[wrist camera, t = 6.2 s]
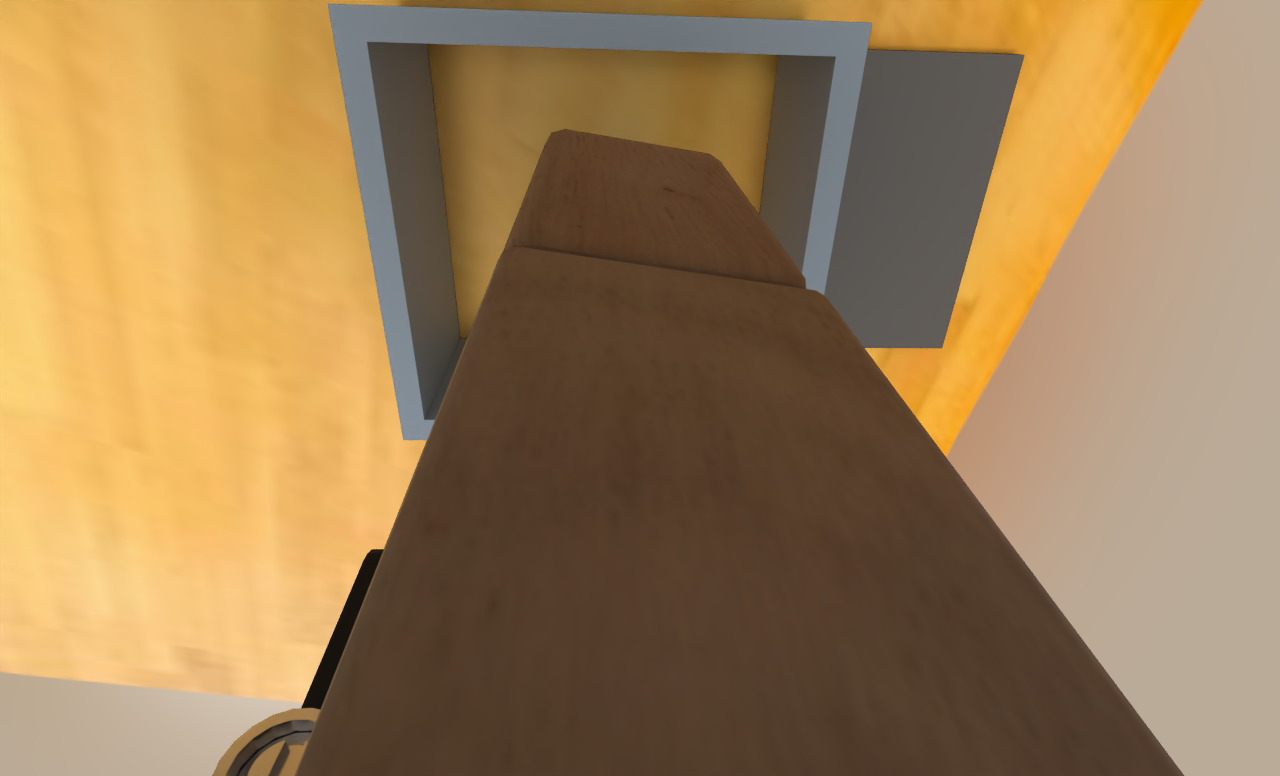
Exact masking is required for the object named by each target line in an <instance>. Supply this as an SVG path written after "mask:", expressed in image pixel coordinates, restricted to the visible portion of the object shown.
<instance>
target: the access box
mask: <svg viewBox="0 0 1280 776" xmlns="http://www.w3.org/2000/svg"><path fill="white" fill-rule="evenodd" d="M328 9H329V14H330V20H331V26H332V32H333V37H334V43H335V49H336V55H337V61H338V66H339V72H340V78H341V84H342V89H343V95H344V101H345V107H346V112H347V118H348V124H349V130H350V135H351V141H352V147H353V153H354V158H355V164H356V170H357V176H358V181H359V187H360V193H361V199H362V205H363V210H364V216H365V222H366V228H367V233H368V239H369V245H370V251H371V256H372V262H373V268H374V274H375V279H376V285H377V291H378V297H379V302H380V308H381V314H382V320H383V326H384V331H385V337H386V343H387V349H388V354H389V360H390V366H391V372H392V377H393V383H394V389H395V395H396V400H397V406H398V412H399V418H400V423H401V429H402V435H403V440H427V439H428V437H429V434H430V431H431V429H432V426H433V424H434V421H435V419H436V416H437V414H438V411H439V409H440V406H441V404H442V401H443V399H444V396H445V394H446V391H447V388H448V386H449V383H450V381H451V378H452V376H453V373H454V371H455V368H456V366H457V363H458V361H459V358H460V356H461V353H462V351H463V348H464V345H465V343H466V340H467V339H462V338H460V331H459V322H458V313H457V304H456V295H455V286H454V277H453V269H452V260H451V251H450V242H449V233H448V224H447V215H446V207H445V198H444V189H443V180H442V171H441V162H440V153H439V145H438V136H437V127H436V118H435V109H434V100H433V91H432V83H431V74H430V65H429V56H428V47H427V44H454V45H486V46H517V47H549V48H580V49H612V50H644V51H675V52H707V53H738V54H770V55H778V62H777V71H776V79H775V88H774V96H773V105H772V113H771V121H770V130H769V138H768V147H767V155H766V164H765V172H764V181H763V189H762V197H761V206H760V214H759V215H760V217H761V218H762V219H763V221H764V222H765V224H766V225H767V226H768V228H769V229H770V230H771V232H772V233H773V235H774V236H775V237H776V239H777V240H778V241H779V243H780V244H781V246H782V247H783V248H784V250H785V251H786V252H787V254H788V255H789V257H790V258H791V259H792V261H793V262H794V263H795V265H796V266H797V268H798V269H799V270H800V272H801V273H802V274H803V276H804V277H805V280H806V289H810V290H816V291H818V292H819V293H821V294H822V295H824V292H825V287H826V281H827V275H828V270H829V264H830V258H831V253H832V247H833V241H834V236H835V230H836V224H837V219H838V213H839V207H840V202H841V196H842V190H843V185H844V179H845V173H846V168H847V162H848V156H849V151H850V145H851V139H852V134H853V128H854V122H855V117H856V111H857V105H858V100H859V94H860V88H861V83H862V77H863V71H864V66H865V60H866V54H867V49H868V43H869V37H870V32H871V26H872V23H867V22H838V21H809V20H780V19H752V18H723V17H694V16H665V15H636V14H608V13H579V12H550V11H521V10H492V9H464V8H435V7H406V6H377V5H348V4H328Z"/></svg>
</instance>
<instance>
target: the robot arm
mask: <svg viewBox="0 0 1280 776" xmlns="http://www.w3.org/2000/svg"><path fill="white" fill-rule="evenodd" d="M383 550H384V549H373V550H371V551H370V552H369V553H368V554H367V555H366V557H365V559H364V561H363V563H362V566H361V568H360V570H359V573H358V575H357V577H356V580H355V582H354V584H353V587H352V589H351V592H350V594H349V596H348V599H347V601H346V603H345V606H344V608H343V611H342V613H341V615H340V618H339V620H338V622H337V625H336V627H335V630H334V632H333V634H332V637H331V639H330V641H329V644H328V646H327V648H326V651H325V653H324V656H323V658H322V660H321V663H320V665H319V667H318V670H317V672H316V675H315V677H314V679H313V682H312V684H311V686H310V689H309V691H308V694H307V696H306V698H305V701H304V703H303V705H302V708H300V709H291V710H288V711H285V712H282V713H278V714H275V715H272V716H270V717H269V718H267V719H265V720H263V721H262V722H260V723H258V724H256V725H254V726H252V727H251V728H250V729H249V730H248V731H247V732H245V733H244V734H243V735H242V736H241V737H239V738H238V739H237V740H236V741H235V742H234V743H233V744H232V745H231V746H230V748H229V749H228V750H227V751H226V753H225V754H224V755H223V757H222V758H221V759H220V760H219V763H218V764H217V767H216V769H215V771H214V773H213V775H212V776H294V775H295V773H296V770H297V768H298V765H299V763H300V760H301V758H302V755H303V753H304V750H305V748H306V745H307V742H308V740H309V737H310V735H311V732H312V730H313V727H314V725H315V722H316V720H317V717H318V715H319V712H320V710H321V707H322V705H323V702H324V700H325V697H326V694H327V692H328V689H329V687H330V684H331V682H332V679H333V677H334V674H335V672H336V669H337V667H338V664H339V662H340V659H341V657H342V654H343V651H344V649H345V646H346V644H347V641H348V639H349V636H350V634H351V631H352V629H353V626H354V624H355V621H356V619H357V616H358V614H359V611H360V608H361V606H362V603H363V601H364V598H365V596H366V593H367V591H368V588H369V586H370V583H371V581H372V578H373V576H374V573H375V571H376V568H377V565H378V563H379V560H380V558H381V555H382V553H383Z"/></svg>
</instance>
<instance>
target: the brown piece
mask: <svg viewBox="0 0 1280 776" xmlns="http://www.w3.org/2000/svg"><path fill="white" fill-rule="evenodd" d="M294 776H1184V775H1183V773H1182V772H1181V771H1180V769H1179V768H1178V767H1177V765H1176V764H1175V763H1174V762H1173V760H1172V759H1171V757H1170V756H1169V755H1168V753H1167V752H1166V751H1165V749H1164V748H1163V747H1162V745H1161V744H1160V743H1159V741H1158V740H1157V739H1156V737H1155V736H1154V735H1153V733H1152V732H1151V731H1150V729H1149V728H1148V727H1147V725H1146V724H1145V723H1144V721H1143V720H1142V719H1141V717H1140V716H1139V715H1138V713H1137V712H1136V711H1135V709H1134V708H1133V707H1132V705H1131V704H1130V703H1129V701H1128V700H1127V699H1126V697H1125V696H1124V695H1123V693H1122V692H1121V691H1120V689H1119V688H1118V687H1117V685H1116V684H1115V683H1114V681H1113V680H1112V679H1111V677H1110V676H1109V675H1108V673H1107V672H1106V671H1105V669H1104V668H1103V667H1102V665H1101V664H1100V663H1099V661H1098V660H1097V659H1096V657H1095V656H1094V655H1093V653H1092V652H1091V650H1090V649H1089V648H1088V646H1087V645H1086V644H1085V642H1084V641H1083V640H1082V638H1081V637H1080V636H1079V634H1078V633H1077V632H1076V630H1075V629H1074V628H1073V626H1072V625H1071V624H1070V622H1069V621H1068V620H1067V619H1066V617H1065V616H1064V614H1063V613H1062V612H1061V610H1060V609H1059V608H1058V607H1057V605H1056V604H1055V602H1054V601H1053V600H1052V598H1051V597H1050V596H1049V594H1048V593H1047V592H1046V590H1045V589H1044V588H1043V586H1042V585H1041V584H1040V583H1039V581H1038V580H1037V578H1036V577H1035V576H1034V574H1033V573H1032V572H1031V570H1030V569H1029V568H1028V566H1027V565H1026V564H1025V562H1024V561H1023V560H1022V558H1021V557H1020V556H1019V554H1018V553H1017V552H1016V550H1015V549H1014V548H1013V546H1012V545H1011V544H1010V542H1009V541H1008V540H1007V538H1006V537H1005V536H1004V534H1003V533H1002V532H1001V530H1000V529H999V528H998V526H997V525H996V524H995V522H994V521H993V520H992V518H991V517H990V516H989V514H988V513H987V512H986V510H985V509H984V507H983V506H982V505H981V504H980V502H979V501H978V499H977V498H976V497H975V495H974V494H973V493H972V491H970V489H969V487H968V486H967V485H966V483H965V482H964V481H963V479H962V478H961V477H960V475H959V474H958V473H957V471H956V470H955V469H954V467H953V466H952V465H951V463H950V462H949V461H948V459H947V458H946V457H945V455H944V454H943V453H942V451H941V450H940V449H939V447H938V446H937V445H936V443H935V442H934V441H933V439H932V438H931V437H930V435H929V434H928V433H927V431H926V430H925V429H924V427H923V426H922V425H921V423H920V422H919V421H918V419H917V418H916V417H915V415H914V414H913V413H912V411H911V410H910V409H909V407H908V406H907V405H906V403H905V402H904V401H903V399H902V398H901V397H900V395H899V394H898V393H897V391H896V390H895V388H894V387H893V386H892V384H891V383H890V382H889V380H888V379H887V378H886V376H885V375H884V374H883V372H882V371H881V370H880V368H879V367H878V366H877V364H876V363H875V362H874V360H873V359H872V358H871V356H870V355H869V354H868V352H867V351H866V350H865V348H864V347H863V346H862V344H861V343H860V342H859V340H858V339H857V338H856V336H855V335H854V334H853V332H852V331H851V330H850V328H849V327H848V326H847V324H846V323H845V322H844V320H843V319H842V318H841V316H840V315H839V314H838V312H837V311H836V310H835V308H834V307H833V306H832V304H831V303H830V302H829V300H828V299H827V298H826V296H824V295H822V294H821V293H819V292H818V291H816V290H810V289H806V280H805V277H804V276H803V274H802V273H801V272H800V270H799V269H798V268H797V266H796V265H795V263H794V262H793V261H792V259H791V258H790V257H789V255H788V254H787V252H786V251H785V250H784V248H783V247H782V246H781V244H780V243H779V241H778V240H777V239H776V237H775V236H774V235H773V233H772V232H771V230H770V229H769V228H768V226H767V225H766V224H765V222H764V221H763V219H762V218H761V217H760V215H759V214H758V213H757V211H756V210H755V208H754V207H753V206H752V204H751V203H750V202H749V200H748V199H747V197H746V196H745V195H744V193H743V192H742V191H741V189H740V188H739V186H738V185H737V184H736V182H735V181H734V179H733V178H732V177H731V175H730V174H729V173H728V171H727V170H726V168H725V167H724V166H723V164H722V163H721V162H720V161H719V160H718V159H716V158H715V157H713V156H712V155H710V154H707V153H701V152H695V151H689V150H684V149H678V148H672V147H666V146H660V145H654V144H649V143H643V142H637V141H631V140H625V139H619V138H613V137H608V136H602V135H596V134H590V133H584V132H578V131H572V130H567V129H564V130H560V131H556V132H552V133H551V135H550V137H549V138H548V140H547V142H546V144H545V146H544V149H543V151H542V154H541V156H540V159H539V161H538V164H537V166H536V169H535V172H534V174H533V177H532V179H531V182H530V184H529V187H528V189H527V192H526V194H525V197H524V200H523V202H522V205H521V207H520V210H519V212H518V215H517V217H516V220H515V222H514V225H513V228H512V230H511V233H510V235H509V238H508V240H507V243H506V245H505V248H504V250H503V252H502V254H501V256H500V258H499V260H498V262H497V265H496V267H495V270H494V272H493V275H492V277H491V280H490V282H489V285H488V287H487V290H486V292H485V295H484V297H483V300H482V303H481V305H480V308H479V310H478V313H477V315H476V318H475V320H474V323H473V325H472V328H471V330H470V333H469V335H468V338H467V340H466V343H465V345H464V348H463V351H462V353H461V356H460V358H459V361H458V363H457V366H456V368H455V371H454V373H453V376H452V378H451V381H450V383H449V386H448V388H447V391H446V394H445V396H444V399H443V401H442V404H441V406H440V409H439V411H438V414H437V416H436V419H435V421H434V424H433V426H432V429H431V431H430V434H429V437H428V439H427V442H426V444H425V447H424V449H423V452H422V454H421V457H420V459H419V462H418V464H417V467H416V469H415V472H414V474H413V477H412V480H411V482H410V485H409V487H408V490H407V492H406V495H405V497H404V500H403V502H402V505H401V507H400V510H399V512H398V515H397V517H396V520H395V523H394V525H393V528H392V530H391V533H390V535H389V538H388V540H387V543H386V545H385V548H384V550H383V553H382V555H381V558H380V560H379V563H378V565H377V568H376V571H375V573H374V576H373V578H372V581H371V583H370V586H369V588H368V591H367V593H366V596H365V598H364V601H363V603H362V606H361V608H360V611H359V614H358V616H357V619H356V621H355V624H354V626H353V629H352V631H351V634H350V636H349V639H348V641H347V644H346V646H345V649H344V651H343V654H342V657H341V659H340V662H339V664H338V667H337V669H336V672H335V674H334V677H333V679H332V682H331V684H330V687H329V689H328V692H327V694H326V697H325V700H324V702H323V705H322V707H321V710H320V712H319V715H318V717H317V720H316V722H315V725H314V727H313V730H312V732H311V735H310V737H309V740H308V742H307V745H306V748H305V750H304V753H303V755H302V758H301V760H300V763H299V765H298V768H297V770H296V773H295V775H294Z"/></svg>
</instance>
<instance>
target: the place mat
mask: <svg viewBox="0 0 1280 776" xmlns="http://www.w3.org/2000/svg"><path fill="white" fill-rule="evenodd" d="M1023 59H1024V55H1019V54H998V53H967V52H937V51H906V50H875V49H867V54H866V60H865V66H864V71H863V77H862V83H861V88H860V94H859V100H858V105H857V111H856V117H855V122H854V128H853V134H852V139H851V145H850V151H849V156H848V162H847V168H846V173H845V179H844V185H843V190H842V196H841V202H840V207H839V213H838V219H837V224H836V230H835V236H834V241H833V247H832V253H831V258H830V264H829V270H828V275H827V281H826V287H825V292H824V296H826V298H827V299H828V300H829V302H830V303H831V304H832V306H833V307H834V308H835V310H836V311H837V312H838V314H839V315H840V316H841V318H842V319H843V320H844V322H845V323H846V324H847V326H848V327H849V328H850V330H851V331H852V332H853V334H854V335H855V336H856V338H857V339H858V340H859V342H860V343H861V344H862V346H863V347H864V348H942V347H943V343H944V340H945V336H946V332H947V329H948V325H949V322H950V318H951V315H952V311H953V308H954V304H955V300H956V297H957V293H958V290H959V286H960V283H961V279H962V276H963V272H964V268H965V265H966V261H967V258H968V254H969V251H970V247H971V244H972V240H973V236H974V233H975V229H976V226H977V222H978V219H979V215H980V212H981V208H982V204H983V201H984V197H985V194H986V190H987V187H988V183H989V179H990V176H991V172H992V169H993V165H994V162H995V158H996V155H997V151H998V147H999V144H1000V140H1001V137H1002V133H1003V130H1004V126H1005V123H1006V119H1007V115H1008V112H1009V108H1010V105H1011V101H1012V98H1013V94H1014V91H1015V87H1016V83H1017V80H1018V76H1019V73H1020V69H1021V66H1022V62H1023Z"/></svg>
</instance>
